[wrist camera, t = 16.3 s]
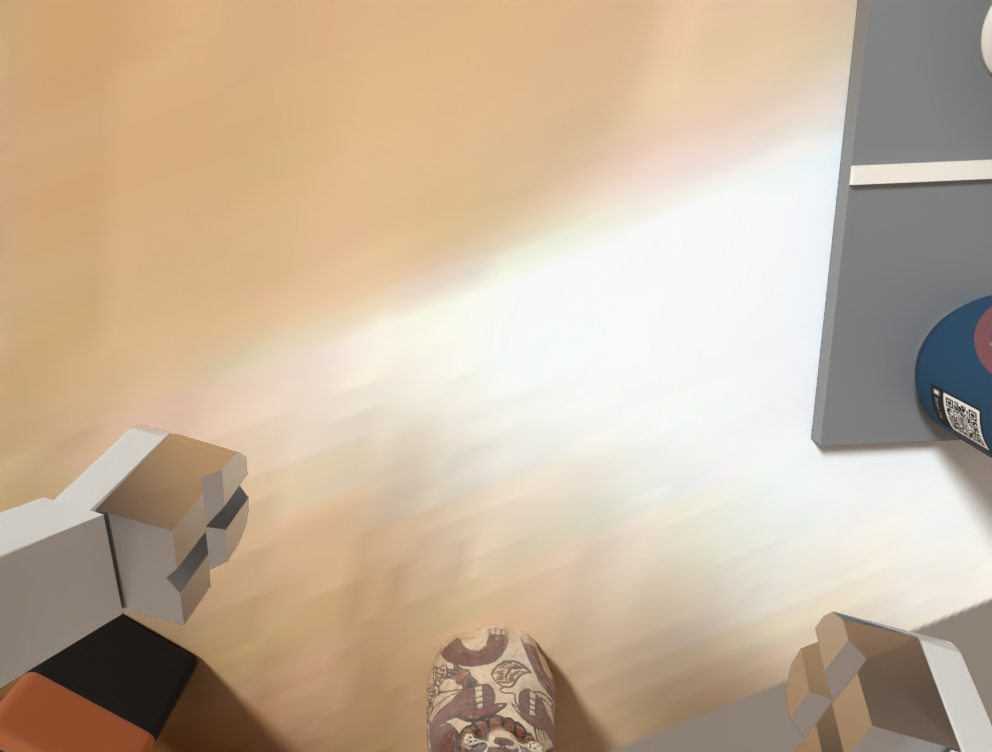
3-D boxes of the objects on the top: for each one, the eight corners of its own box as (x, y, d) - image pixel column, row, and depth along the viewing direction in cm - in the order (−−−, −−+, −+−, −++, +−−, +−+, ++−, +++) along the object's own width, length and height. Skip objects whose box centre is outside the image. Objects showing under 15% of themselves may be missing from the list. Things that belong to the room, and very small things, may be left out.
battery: (93, 593, 38) (-37, 743, 28) (203, 656, 39) (114, 819, 30) (55, 647, 39) (-83, 809, 29) (163, 706, 40) (65, 879, 31)
